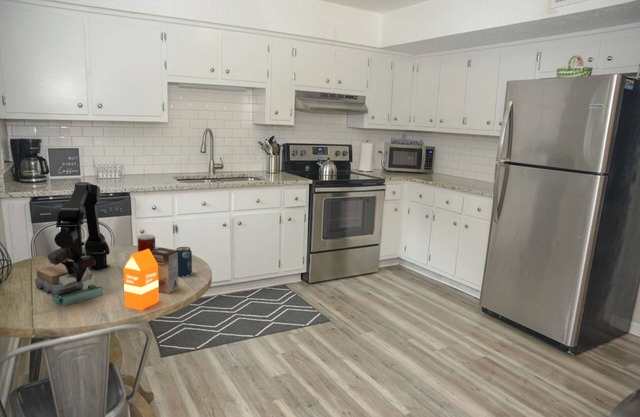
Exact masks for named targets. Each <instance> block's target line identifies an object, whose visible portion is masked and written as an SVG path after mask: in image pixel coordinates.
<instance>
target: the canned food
mask: <svg viewBox="0 0 640 417" xmlns="http://www.w3.org/2000/svg"><path fill="white" fill-rule="evenodd" d="M146 249H150V251H152V250H155V249H156V236H155V235H154V234H141V235H139V236H137V252H140V251H143V250H146Z"/></svg>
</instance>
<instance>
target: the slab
mask: <svg viewBox="0 0 640 417" xmlns="http://www.w3.org/2000/svg"><path fill="white" fill-rule="evenodd" d="M65 275H69V274H68V271H67V269H66V267H65V266H64V265H63V264H61V263H60V264H58V265H53V266H52V265H51V266H47V267H43V268H39V269H36V278H40V279H42V280H44V281H47V282H49V283H51V284H55V283H59V277H61V276H65Z"/></svg>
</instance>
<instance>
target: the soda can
mask: <svg viewBox="0 0 640 417" xmlns="http://www.w3.org/2000/svg"><path fill="white" fill-rule="evenodd" d="M175 250H176V251H178V277H179V276H187V275H190V276H191V274H192V273H193V267H192V266H193V262H192V261H193V258H192V255H193V254H192V253H193V252H192V250H191V247H190V246H179V247H176V249H175ZM187 277H188V276H187Z"/></svg>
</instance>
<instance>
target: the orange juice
mask: <svg viewBox="0 0 640 417" xmlns="http://www.w3.org/2000/svg"><path fill="white" fill-rule="evenodd" d="M123 282H124V283H123V285H124V286H123V288H124V289H123V290H124V306H125V307H126V308H129V309H133V310H138V311H143V310H145V308H146V309H148V308H150V307H152V306H154V305H155V304H158V303H159V302H160V300H159V299H160V298H159V297H160V295H159V293H160V292H159V291H158V287H159V285H158V264H157V262H156V260H155V259H154V257H153V255H152V253H151V251H150V249H146V250H143V251H140V252H138V251H137V252H134V253H132V254H131V255H130V257H129V259H128V260H127V262H126V264H125V266H124V267H123ZM158 301H159V302H158ZM149 306H150V307H149ZM147 307H148V308H147Z"/></svg>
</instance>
